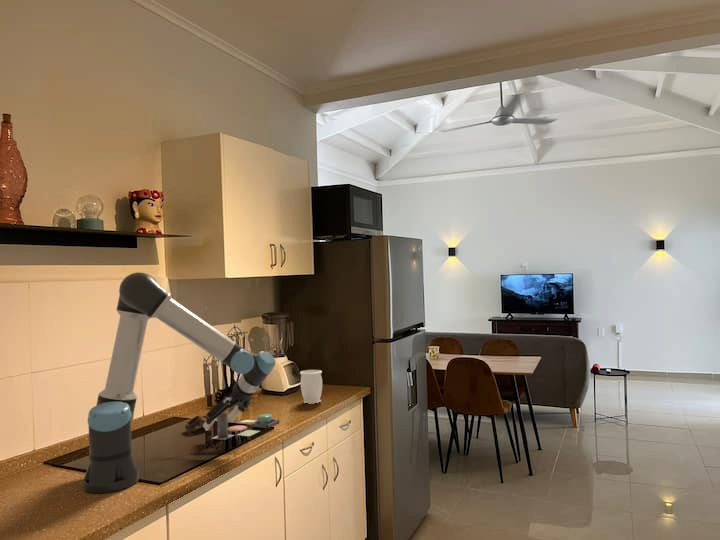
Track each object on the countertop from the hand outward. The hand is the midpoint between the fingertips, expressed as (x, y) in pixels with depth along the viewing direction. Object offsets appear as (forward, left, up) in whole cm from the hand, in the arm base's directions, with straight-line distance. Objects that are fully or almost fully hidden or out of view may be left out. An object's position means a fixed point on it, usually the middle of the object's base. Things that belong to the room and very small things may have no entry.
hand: (217, 423), depth 203 cm
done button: (+14, -15, -3) cm, 21 cm away
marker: (-1, -2, -5) cm, 5 cm away
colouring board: (+6, -8, -6) cm, 12 cm away
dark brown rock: (+9, +10, -6) cm, 15 cm away
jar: (+56, -30, -6) cm, 64 cm away
